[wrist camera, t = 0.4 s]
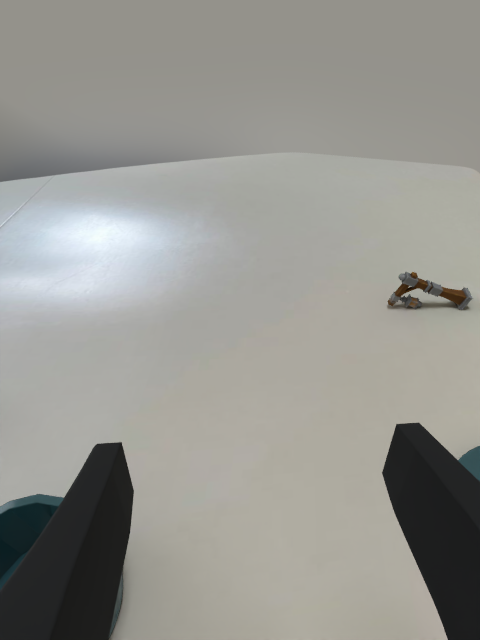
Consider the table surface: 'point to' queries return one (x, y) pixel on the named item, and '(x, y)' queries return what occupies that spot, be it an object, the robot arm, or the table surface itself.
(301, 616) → the table surface
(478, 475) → the lid
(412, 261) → the table surface
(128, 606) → the table surface
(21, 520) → the tin
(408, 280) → the wooden post with brackets
